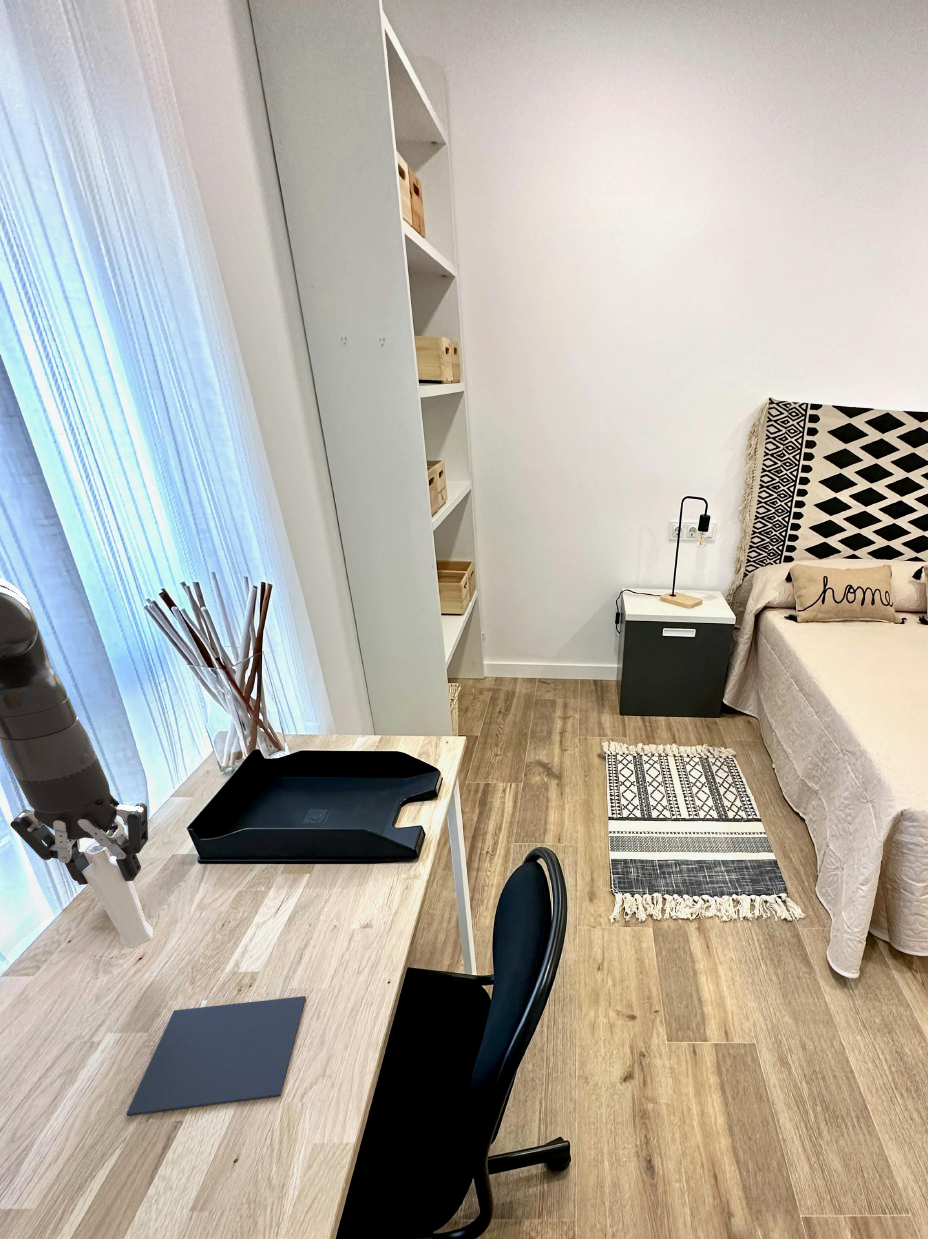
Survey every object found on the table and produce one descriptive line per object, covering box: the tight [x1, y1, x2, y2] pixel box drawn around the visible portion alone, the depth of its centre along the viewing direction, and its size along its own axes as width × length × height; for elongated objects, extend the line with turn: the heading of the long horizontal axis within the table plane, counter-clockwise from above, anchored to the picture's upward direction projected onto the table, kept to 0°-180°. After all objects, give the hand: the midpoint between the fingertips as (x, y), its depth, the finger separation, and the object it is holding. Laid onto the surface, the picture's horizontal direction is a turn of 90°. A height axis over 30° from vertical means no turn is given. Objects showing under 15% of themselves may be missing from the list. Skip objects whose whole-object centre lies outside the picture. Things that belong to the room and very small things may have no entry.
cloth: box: [125, 995, 307, 1117], centre depth 79 cm, size 16×14×1 cm
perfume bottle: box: [82, 844, 154, 950], centre depth 83 cm, size 5×4×15 cm
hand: (109, 878), depth 82 cm, fingers closed on perfume bottle, 4 cm apart
